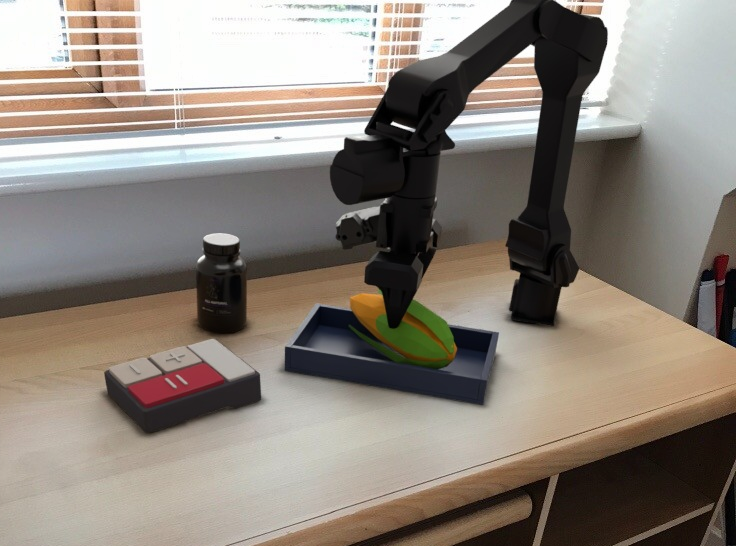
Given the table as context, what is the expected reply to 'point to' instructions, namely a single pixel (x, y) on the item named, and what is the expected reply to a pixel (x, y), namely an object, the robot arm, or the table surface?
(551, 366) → the table surface
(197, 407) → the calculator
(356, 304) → the corn
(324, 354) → the tray
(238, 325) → the supplement bottle
